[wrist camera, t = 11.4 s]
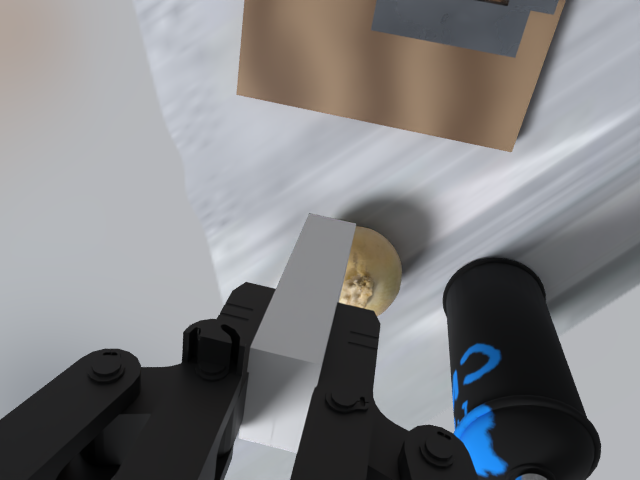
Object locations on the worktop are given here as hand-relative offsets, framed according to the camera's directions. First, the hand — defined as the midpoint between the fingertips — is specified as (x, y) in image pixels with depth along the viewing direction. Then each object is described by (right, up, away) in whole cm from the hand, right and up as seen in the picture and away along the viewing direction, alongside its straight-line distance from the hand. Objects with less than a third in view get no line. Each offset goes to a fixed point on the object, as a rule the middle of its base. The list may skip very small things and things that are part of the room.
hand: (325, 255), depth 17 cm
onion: (+3, -1, +28) cm, 28 cm away
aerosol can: (+14, -4, +28) cm, 32 cm away
